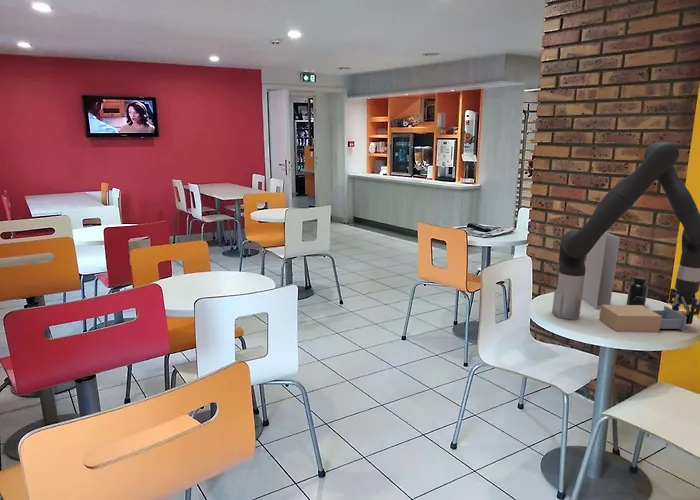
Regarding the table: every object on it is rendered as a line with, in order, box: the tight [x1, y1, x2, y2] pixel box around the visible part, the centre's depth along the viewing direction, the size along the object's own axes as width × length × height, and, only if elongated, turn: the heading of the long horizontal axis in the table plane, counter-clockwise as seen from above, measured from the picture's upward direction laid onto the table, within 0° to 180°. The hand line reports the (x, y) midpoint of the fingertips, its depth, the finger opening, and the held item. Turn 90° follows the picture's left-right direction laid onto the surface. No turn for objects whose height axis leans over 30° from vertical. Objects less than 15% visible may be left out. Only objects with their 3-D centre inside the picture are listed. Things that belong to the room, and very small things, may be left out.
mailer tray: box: [650, 305, 687, 332], centre depth 192 cm, size 20×12×5 cm, turn 92°
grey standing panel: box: [582, 231, 621, 310], centre depth 213 cm, size 14×6×30 cm, turn 179°
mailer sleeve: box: [598, 304, 662, 333], centre depth 191 cm, size 16×12×6 cm
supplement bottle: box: [626, 275, 649, 307], centre depth 215 cm, size 7×7×12 cm
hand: (681, 320), depth 192 cm, fingers open, 7 cm apart
